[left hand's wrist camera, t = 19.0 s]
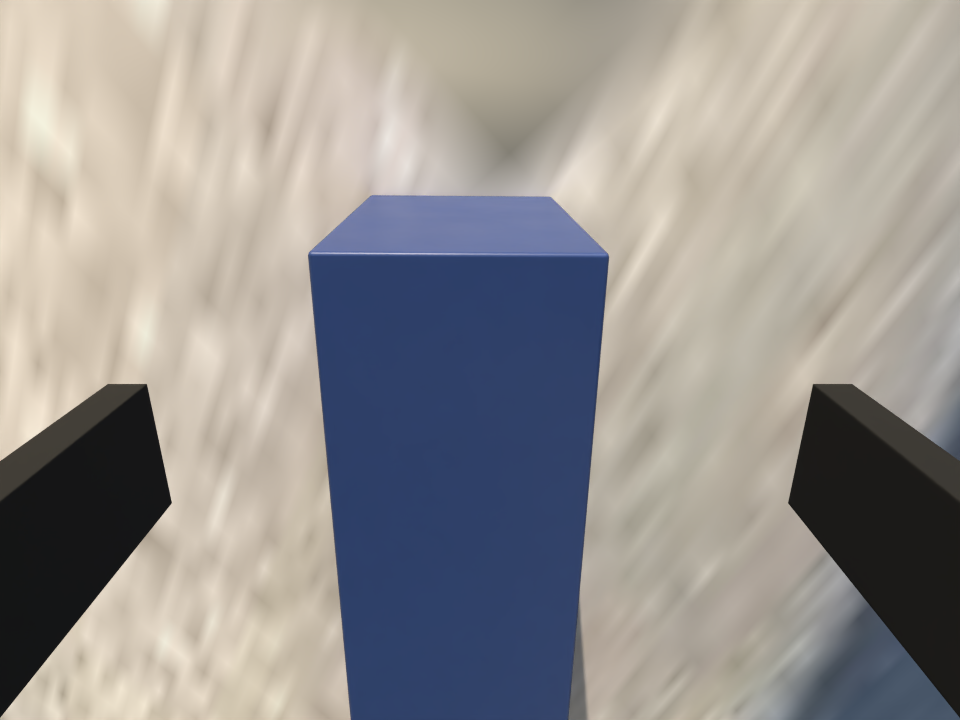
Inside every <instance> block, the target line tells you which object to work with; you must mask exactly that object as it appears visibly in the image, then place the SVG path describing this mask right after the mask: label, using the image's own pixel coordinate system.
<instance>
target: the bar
mask: <svg viewBox="0 0 960 720" xmlns="http://www.w3.org/2000/svg"><path fill="white" fill-rule="evenodd" d="M308 259H309V270H310V281H311V292H312V303H313V314H314V325H315V336H316V346H317V357H318V368H319V379H320V390H321V401H322V412H323V422H324V433H325V444H326V455H327V466H328V477H329V488H330V499H331V509H332V520H333V531H334V542H335V553H336V564H337V575H338V586H339V596H340V607H341V618H342V629H343V640H344V651H345V662H346V672H347V683H348V694H349V705H350V716H351V720H568V717H569V705H570V694H571V683H572V671H573V660H574V649H575V637H576V626H577V615H578V603H579V592H580V581H581V569H582V558H583V547H584V535H585V524H586V513H587V501H588V490H589V479H590V467H591V456H592V445H593V433H594V422H595V411H596V399H597V388H598V377H599V365H600V354H601V343H602V331H603V320H604V309H605V297H606V286H607V275H608V263H609V255H608V253H607V252H606V251H605V250H604V249H603V248H602V247H601V246H599V245H598V244H597V243H596V242H595V241H594V240H593V239H592V238H591V237H590V236H589V235H588V234H587V233H586V232H585V231H584V230H583V229H582V228H581V227H580V226H579V225H578V224H577V223H576V222H575V221H574V220H573V219H572V218H571V217H570V216H569V215H568V214H567V213H566V212H565V211H564V210H563V209H562V208H561V207H560V206H559V205H558V204H557V203H556V202H555V201H554V200H553V199H552V198H551V197H505V196H381V195H372V196H370V197H369V198H368V199H367V200H366V201H365V202H364V203H362V204H361V205H360V206H359V207H358V208H357V209H356V210H355V211H354V212H353V213H352V214H350V215H349V216H348V217H347V218H346V219H345V220H344V221H343V222H342V223H341V224H340V225H338V226H337V227H336V228H335V229H334V230H333V231H332V232H331V233H330V234H329V235H328V236H326V237H325V238H324V239H323V240H322V241H321V242H320V243H319V244H318V245H317V246H316V247H314V248H313V249H312V250H311V251H310V252H309V254H308Z"/></svg>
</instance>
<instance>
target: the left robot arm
mask: <svg viewBox="0 0 960 720" xmlns="http://www.w3.org/2000/svg"><path fill="white" fill-rule="evenodd" d="M171 503H172V502H171V497H170V492H169V488H168V483H167V478H166V473H165V468H164V464H163V459H162V454H161V449H160V445H159V440H158V435H157V430H156V426H155V421H154V416H153V411H152V407H151V402H150V397H149V392H148V387H147V384H107V385H106V386H105V387H103V388H102V389H101V390H99V391H98V392H96V393H95V394H94V395H92V396H91V397H89V398H88V399H87V400H85V401H84V402H82V403H81V404H80V405H78V406H77V407H75V408H74V409H73V410H71V411H70V412H68V413H67V414H66V415H64V416H63V417H61V418H60V419H59V420H57V421H56V422H54V423H53V424H52V425H50V426H49V427H47V428H46V429H45V430H43V431H42V432H40V433H39V434H38V435H36V436H35V437H33V438H32V439H31V440H29V441H28V442H26V443H25V444H24V445H22V446H21V447H19V448H18V449H17V450H15V451H14V452H12V453H11V454H10V455H8V456H7V457H6V458H4V459H3V460H1V461H0V717H1V716H2V715H3V713H4V712H5V711H6V710H7V708H8V707H9V706H10V705H11V703H12V702H13V701H14V700H15V698H16V697H17V696H18V695H19V693H20V692H21V691H22V690H23V688H24V687H25V686H26V685H27V683H28V682H29V681H30V680H31V678H32V677H33V676H34V675H35V673H36V672H37V671H38V670H39V668H40V667H41V666H42V665H43V663H44V662H45V661H46V660H47V658H48V657H49V656H50V655H51V653H52V652H53V651H54V650H55V648H56V647H57V646H58V645H59V643H60V642H61V641H62V640H63V638H64V637H65V636H66V635H67V633H68V632H69V631H70V630H71V628H72V627H73V626H74V625H75V623H76V622H77V621H78V620H79V618H80V617H81V616H82V615H83V613H84V612H85V611H86V610H87V608H88V607H89V606H90V605H91V603H92V602H93V601H94V600H95V598H96V597H97V596H98V595H99V593H100V592H101V591H102V590H103V588H104V587H105V586H106V585H107V583H108V582H109V581H110V580H111V578H112V577H113V576H114V575H115V573H116V572H117V571H118V570H119V568H120V567H121V566H122V565H123V563H124V562H125V561H126V560H127V558H128V557H129V556H130V555H131V553H132V552H133V551H134V550H135V548H136V547H137V546H138V545H139V543H140V542H141V541H142V540H143V538H144V537H145V536H146V535H147V533H148V532H149V531H150V530H151V528H152V527H153V526H154V525H155V523H156V522H157V521H158V520H159V518H160V517H161V516H162V515H163V513H164V512H165V511H166V510H167V508H168V507H169V506H170V505H171ZM788 503H789V505H790V506H791V507H792V508H793V510H794V511H795V512H796V513H797V515H798V516H799V517H800V518H801V520H802V521H803V522H804V523H805V525H806V526H807V527H808V528H809V530H810V531H811V532H812V533H813V535H814V536H815V537H816V538H817V540H818V541H819V542H820V543H821V545H822V546H823V547H824V548H825V550H826V551H827V552H828V553H829V555H830V556H831V557H832V558H833V560H834V561H835V562H836V563H837V565H838V566H839V567H840V568H841V570H842V571H843V572H844V573H845V575H846V576H847V577H848V578H849V580H850V581H851V582H852V583H853V585H854V586H855V587H856V588H857V590H858V591H859V592H860V593H861V595H862V596H863V597H864V598H865V600H866V601H867V602H868V603H869V605H870V606H871V607H872V608H873V610H874V611H875V612H876V613H877V615H878V616H879V617H880V618H881V620H882V621H883V622H884V623H885V625H886V626H887V627H888V628H889V630H890V631H891V632H892V633H893V635H894V636H895V637H896V638H897V640H898V641H899V642H900V643H901V645H902V646H903V647H904V648H905V650H906V651H907V652H908V653H909V655H910V656H911V657H912V658H913V660H914V661H915V662H916V663H917V665H918V666H919V667H920V668H921V670H922V671H923V672H924V673H925V675H926V676H927V677H928V678H929V680H930V681H931V682H932V683H933V685H934V686H935V687H936V688H937V690H938V691H939V692H940V693H941V695H942V696H943V697H944V698H945V700H946V701H947V702H948V703H949V705H950V706H951V707H952V708H953V710H954V711H955V712H956V713H957V715H958V716H959V717H960V461H959V460H957V459H956V458H954V457H953V456H952V455H950V454H949V453H948V452H946V451H945V450H943V449H942V448H941V447H939V446H938V445H936V444H935V443H934V442H932V441H931V440H929V439H928V438H927V437H925V436H924V435H922V434H921V433H920V432H918V431H917V430H915V429H914V428H913V427H911V426H910V425H908V424H907V423H906V422H904V421H903V420H901V419H900V418H899V417H897V416H896V415H894V414H893V413H892V412H890V411H889V410H887V409H886V408H885V407H883V406H882V405H880V404H879V403H878V402H876V401H875V400H873V399H872V398H871V397H869V396H868V395H866V394H865V393H864V392H862V391H861V390H859V389H858V388H857V387H855V386H854V385H853V384H813V387H812V392H811V397H810V402H809V407H808V411H807V416H806V421H805V426H804V430H803V435H802V440H801V445H800V449H799V454H798V459H797V464H796V468H795V473H794V478H793V483H792V488H791V492H790V497H789V502H788Z"/></svg>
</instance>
